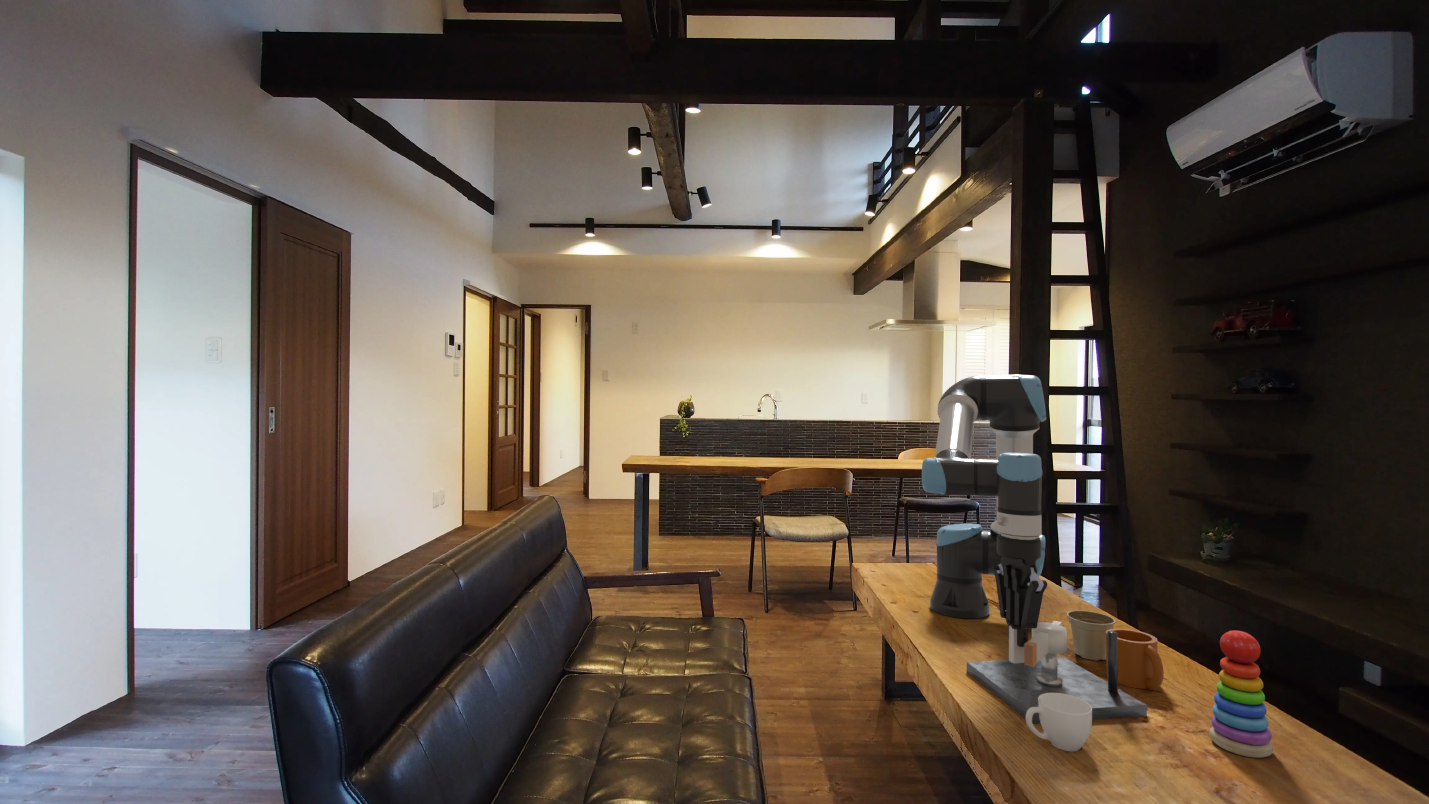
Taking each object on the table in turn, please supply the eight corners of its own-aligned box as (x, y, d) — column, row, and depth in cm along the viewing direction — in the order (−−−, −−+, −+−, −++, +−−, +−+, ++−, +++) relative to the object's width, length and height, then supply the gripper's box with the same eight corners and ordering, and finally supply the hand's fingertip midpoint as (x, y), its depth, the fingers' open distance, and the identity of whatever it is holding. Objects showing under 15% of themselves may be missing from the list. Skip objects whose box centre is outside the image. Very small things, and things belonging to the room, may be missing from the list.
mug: (1128, 695, 120) (1127, 648, 121) (1098, 670, 132) (1096, 627, 132) (1179, 697, 119) (1177, 649, 119) (1144, 672, 131) (1142, 628, 131)
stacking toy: (1196, 735, 105) (1195, 623, 106) (1240, 733, 106) (1239, 621, 106) (1240, 761, 97) (1238, 640, 98) (1287, 759, 98) (1285, 638, 98)
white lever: (1042, 636, 128) (1041, 616, 128) (1075, 643, 124) (1074, 623, 124) (1011, 661, 115) (1011, 639, 115) (1046, 670, 111) (1046, 647, 111)
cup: (1102, 758, 98) (1102, 714, 98) (1037, 756, 99) (1036, 713, 99) (1076, 733, 106) (1076, 692, 106) (1016, 731, 106) (1015, 691, 107)
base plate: (966, 671, 131) (966, 609, 131) (1064, 666, 134) (1063, 605, 134) (1031, 723, 109) (1030, 648, 110) (1146, 716, 112) (1145, 642, 112)
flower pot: (1123, 665, 134) (1123, 625, 134) (1075, 662, 136) (1075, 622, 136) (1105, 649, 143) (1105, 611, 144) (1060, 646, 145) (1060, 609, 145)
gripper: (980, 529, 124) (979, 649, 123) (1023, 543, 111) (1022, 677, 110) (1014, 528, 125) (1013, 647, 125) (1061, 542, 112) (1060, 674, 112)
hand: (1017, 661), depth 117 cm, fingers closed
